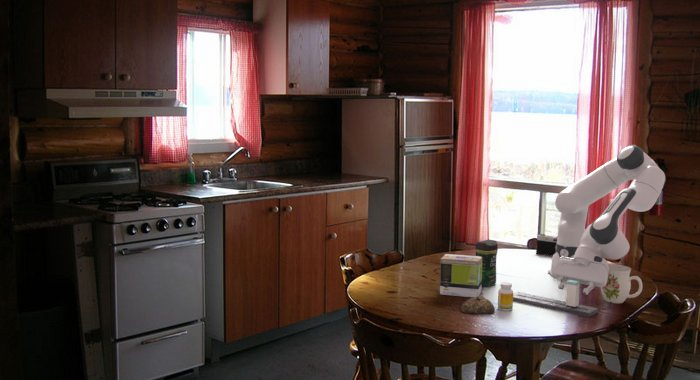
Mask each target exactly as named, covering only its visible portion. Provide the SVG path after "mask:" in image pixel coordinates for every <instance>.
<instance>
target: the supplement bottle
mask: <svg viewBox="0 0 700 380" xmlns="http://www.w3.org/2000/svg"><path fill="white" fill-rule="evenodd" d="M512 286H513V285H512V283H511V282H508V281H507V282H506V281H503V282H501V283H500V288H499V289H498V291H497V295H498V296H497V309H498V310H500V311H503V312H505V311H506V312H509V311H512V310H513V307H514V305H513V304H514V301H513V294H514V290H513V288H512Z"/></svg>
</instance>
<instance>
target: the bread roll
mask: <svg viewBox="0 0 700 380" xmlns="http://www.w3.org/2000/svg"><path fill="white" fill-rule="evenodd" d="M459 310H460V312H462V313H466V314H475V315H477V314H478V315H492V314H495V311H496V307H495V306H494V304H493V303H492V302H491V300H490V299H488V298H486V297H483V296H480V295H479V296H478V297H476V298H474V297H470V299H467V300H465V301H464V302H463V303H462V304H461V307H460V309H459Z"/></svg>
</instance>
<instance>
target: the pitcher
mask: <svg viewBox="0 0 700 380" xmlns="http://www.w3.org/2000/svg"><path fill="white" fill-rule="evenodd" d="M608 266H609V271H608V272H607V273H608V280H607V283H606V286H604V287H603V288H602V287H600V292H601V294H602V295H601V296H602V297H603V299H604V300H605V302H607V303H610V302H612V303H611V304H623V303H624V302H625V301H626V299H634V298H637V297H638V296H639V295H640V294H641V293H642V291H643V286H644V285H643V282H642V279H641V278H640V277H639V276H638V275H633V276H632V275H631V276H630V274H631V271H632V268H631V267H629V266H626V265H621V264H615V263H608ZM632 280H636V281H637V283H638V290H637V291H636V292H635V293H633V294H630V291H631V286H632Z"/></svg>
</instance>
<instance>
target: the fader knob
mask: <svg viewBox="0 0 700 380" xmlns="http://www.w3.org/2000/svg"><path fill="white" fill-rule="evenodd" d="M580 285H581V283H580V281H576V280H569V281H566V292H565V295H566V296H565V302H566V305H568V306H573V307H576V306H578V304H579V300H580V299H579V297H580Z"/></svg>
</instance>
